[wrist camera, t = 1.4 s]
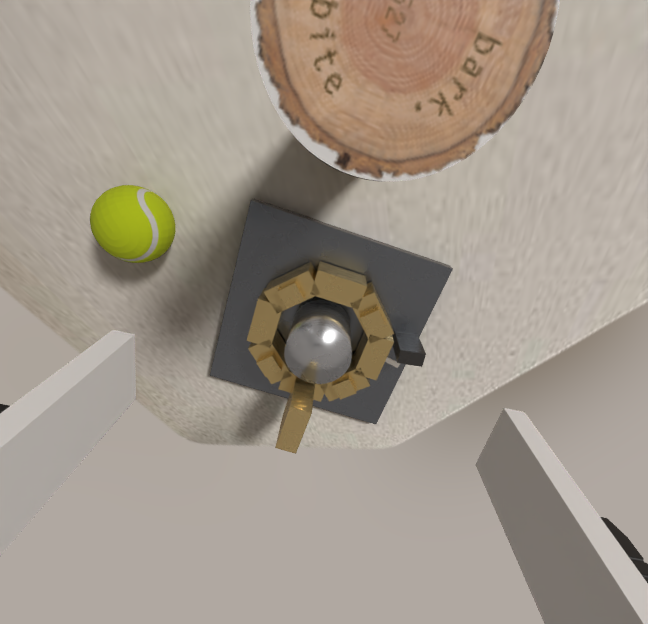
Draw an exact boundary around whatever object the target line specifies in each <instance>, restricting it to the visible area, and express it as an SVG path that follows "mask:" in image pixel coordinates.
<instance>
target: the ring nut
mask: <svg viewBox="0 0 648 624" xmlns="http://www.w3.org/2000/svg"><path fill="white" fill-rule="evenodd" d="M314 296H317V297H320V298H323V299H326V300H330V301H333V302H336V303H339V304H342V305H345V306H348V307H351V308H353V310H354V312H355V314H356V316H357V318H358V320H359V322H360V324H361V326H362V327H363V329H364V333H363V335H362V337H361V340H360V342H359V344H358V347H357V349H356V352H355V354H353V355H352V359H351V363H350V366H349V368H348V370H347V371H346V372H345V373H344V374H343V375H342V376H341V377H340V378H338V379H337V380H335V381H332V382H329V383H325V384H314V383H309V382H306V381H303V380H301V379H300V378H298V377H297V376H295V375H294V374H293V373H292V372H291V371H290V369H289V368H288V366H287V364H286V361H285V355H284V352H285V346H286V344H285V342H284V341H283V339H282V337H281V336H280V334H279V332H278V331H277V328H278V325H279V322H280V318H281V315H282V312H283V311H284V310H286V309H288V308H290V307H293V306H295V305H297V304H299V303H301V302H304V301H306V300H308V299H310V298H312V297H314ZM392 334H394V332H393V328H392V325H391V321H390V319H389V317H388V315H387V313H386V311H385V308H384V306H383V304H382V302H381V300H380V298H379V296H378V294H377V292H376V290H375V287H374V285H373V283H372V282H370V283H368V284H367V283H366V278H365V276H364V275H361V274H358V273H355V272H352V271H349V270H346V269H343V268H339V267H336V266H333V265H330V264H327V263H324V262H321V261H320V263H319V266H318V269H317V272H316V270H315V268H314V266H313V265H312V263H311V262H309V263H307V264H305V265H303V266H301V267H299V268H297V269H295V270H293V271H291V272H288V273H286V274H284V275H282V276H280V277H278V278H276V279H274V280H272V281H270V282H269V284H268V285H267V287H266V288H264V289H263V291H262V293H261V295H260V296H259V298H258V301H257V304H256V308H255V312H254V315H253V319H252V323H251V326H250V330H249V334H248V337H247V341H249V342H251V344H250V346H249V348H248V349H249V351H250V352H251V354H252V355H253V357H254V359H255V360H256V363H257V365H258V366H259V368H260V370H261V371H262V373H263V374H264V376H265V377H267V378H268V380H269V381H270V383H271V384H274V383H276V382H279V381H280V385H279V390H283V391H286V392H289V393H290V396H289V398H288V401H287V404H286V407H285V410H284V413H283V417H282V421H281V425H280V430H279V434H278V438H277V443H276V447H275V448H278V449H281V450H285V451H289V452H292V453H296V452H297V449H298V447H299V444H300V442H301V439H302V437H303V434H304V431H305V429H306V426H307V424H308V421H309V419H310V416H311V414H312V406H313V400H316V401H320V402H321V400H322V398H323V395H324V393H325V395H326V397H327V398H328V400H329V402H330V401H332V400H335V399H337V398H340V399H343V398H346V397H348V396H351V395H353V394H356V393H357V392H356V391H358V390H361V389H363V388H366V387H369V386H370V380H369V378H370V379H373V380H377V378H378V376H379V374H380V371H381V369H382V367H383V365H384V363H385V361H386V358H387V356H388V354H389V352H390V350H391V348H392V346H393V343H394V340H393V336H392Z"/></svg>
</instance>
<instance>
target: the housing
mask: <svg viewBox="0 0 648 624" xmlns="http://www.w3.org/2000/svg"><path fill="white" fill-rule="evenodd" d="M320 261H321V262H324V263H327V264H330V265H333V266H336V267H339V268H343V269H346V270H349V271H352V272H355V273H358V274H361V275H364V276H365V278H366V283H367V284H368V283H370V282H372V283H373V285H374V287H375V290H376V292H377V294H378V296H379V298H380V300H381V302H382V304H383V306H384V308H385V311H386V313H387V315H388V317H389V319H390V321H391V325H392V328H393V332H394V334H392V336H393V340H394V343H393V346H392V348H391V350H390V352H389V354H388V356H387V358H386V361H385V363H384V365H383V367H382V369H381V371H380V374H379V376H378V378H377V380H373V379H370V378H369V380H370V386H369V387H366V388H363V389H361V390H358V391H356V392H357V393H356V394H353V395H351V396H348V397H346V398H343V399H340V398H337V399H335V400H332V401H330V402H329V400H328V398H327V397H326V395H325V393H324V395H323V398H322V400H321V402H320V401H316V400H313V406H315V407H319V408H322V409H325V410H329V411H332V412H336V413H339V414H342V415H346V416H349V417H353V418H356V419H359V420H363V421H366V422H369V423H373V424H376V423H377V421H378V419H379V417H380V415H381V413H382V411H383V409H384V407H385V405H386V403H387V401H388V399H389V397H390V395H391V393H392V391H393V389H394V387H395V385H396V383H397V381H398V379H399V377H400V375H401V373H402V371H403V369H404V367H405V365H406V364H408V365H414V366H421V367H422V365H423V362H424V358H425V355H426V353H425V351H424V349H423V346H422V344H421V342H420V339H419V336H420V334H421V332H422V330H423V328H424V326H425V324H426V322H427V320H428V318H429V316H430V314H431V312H432V310H433V308H434V306H435V304H436V302H437V300H438V298H439V296H440V294H441V292H442V290H443V288H444V286H445V284H446V282H447V280H448V278H449V276H450V273H451V271H452V268H451V267H450V266H449V265H447V264H444V263H441V262H438V261H435V260H432V259H429V258H426V257H423V256H420V255H417V254H414V253H411V252H409V251H406V250H403V249H400V248H397V247H394V246H391V245H388V244H385V243H382V242H379V241H376V240H373V239H370V238H367V237H365V236H362V235H359V234H356V233H353V232H350V231H347V230H344V229H341V228H338V227H335V226H332V225H329V224H326V223H324V222H321V221H318V220H315V219H312V218H309V217H306V216H303V215H300V214H297V213H294V212H291V211H288V210H285V209H283V208H280V207H277V206H274V205H271V204H268V203H265V202H262V201H259V200H256V199H252V200H251V202H250V207H249V211H248V215H247V219H246V224H245V228H244V232H243V236H242V241H241V245H240V249H239V254H238V258H237V262H236V266H235V271H234V275H233V279H232V283H231V288H230V292H229V296H228V300H227V305H226V309H225V313H224V317H223V322H222V326H221V330H220V335H219V339H218V343H217V347H216V352H215V356H214V360H213V364H212V369H211V373H210V376H214V377H217V378H221V379H224V380H227V381H231V382H234V383H237V384H241V385H244V386H248V387H251V388H254V389H258V390H261V391H265V392H268V393H271V394H275V395H278V396H281V397H285V398H289V396H290V393H289V392H286V391H283V390H279V385H280V381H279V382H276V383H274V384H271V383H270V381H269V380H268V378H267V377H265V376H264V374H263V373H262V371H261V370H260V368H259V366H258V365H257V363H256V360H255V359H254V357H253V355H252V354H251V352H250V351H249V349H248V348H249V346H250V344H251V342H249V341H247V337H248V334H249V330H250V326H251V323H252V319H253V315H254V312H255V308H256V304H257V301H258V298H259V296H260V295H261V293H262V291H263V289H264V288H266V287H267V285H268V284H269V282H270V281H272V280H274V279H276V278H278V277H280V276H282V275H284V274H286V273H288V272H291V271H293V270H295V269H297V268H299V267H301V266H303V265H305V264H307V263H309V262H311V263H312V265H313V266H314V268H315V270H316V272H317V269H318V266H319V263H320ZM277 331H278V332H279V334H280V336H281V337H282V339H283V341H284V342H285V344H286V346H285V352H284V355H285V361H286V364H287V366H288V368H289V369H290V371H291V372H292V373H293V374H294V375H295V376H297V377H298V378H300V379H301V380H303V381H306V382H309V383H314V384H325V383H329V382H332V381H335V380H337V379H338V378H340V377H341V376H342V375H343V374H344V373H345V372H346V371H347V370H348V368H349V366H350V363H351V359H352V355H353V354H355V352H356V349H357V347H358V344H359V342H360V340H361V337H362V335H363V333H364V329H363V327H362V326H361V324H360V322H359V320H358V318H357V316H356V314H355V312H354V310H353V308H351V307H348V306H345V305H342V304H339V303H336V302H333V301H330V300H326V299H323V298H320V297H317V296H314V297H312V298H310V299H308V300H306V301H304V302H301V303H299V304H297V305H295V306H293V307H290V308H288V309H286V310H284V311H283V312H282V315H281V318H280V322H279V325H278V328H277Z"/></svg>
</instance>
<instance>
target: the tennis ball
mask: <svg viewBox="0 0 648 624" xmlns="http://www.w3.org/2000/svg"><path fill="white" fill-rule="evenodd" d="M90 225H91V230H92V233H93V235H94V237H95V239H96V240H97V242H98V243H99V245H100V246H101V247H102V248H103V249H104V250H105V251H107V252H108V253H109V254H111V255H112V256H114V257H116V258H118V259H120V260H123V261H126V262H132V263H143V262H148V261H151V260H154V259H156V258H158V257H160V256H161V255H162V254H164V253H165V252H166V251H167V250H168V249H169V247H170V246H171V244H172V242H173V239H174V236H175V220H174V217H173V214H172V212H171V210H170V208H169V207H168V205H167V204H166V202H165V201H164V200H163V199H162V198H160V197H159V196H158V195H156V194H155V193H153V192H151V191H150V190H148V189H145V188H143V187H139V186H134V185H122V186H118V187H114V188H111V189H109V190H107V191H106V192H104V193H103V194H102V195H101V196H100V197H99V198H98V199H97V200H96V202H95V203H94V205H93V207H92V210H91V214H90Z"/></svg>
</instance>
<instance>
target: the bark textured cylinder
mask: <svg viewBox="0 0 648 624" xmlns="http://www.w3.org/2000/svg"><path fill="white" fill-rule="evenodd" d="M559 3H560V0H250V20H251V33H252V40H253V47H254V52H255V57H256V61H257V65H258V69H259V72H260V75H261V78H262V81H263V84H264V86H265V89H266V91H267V93H268V96H269V98H270V100H271V102H272V104H273V106H274V107H275V109H276V111H277V113H278V115H279V116H280V118H281V119H282V121H283V122H284V124H285V125H286V127H287V128H288V129H289V130H290V132H291V133H292V134H293V135H294V136H295V138H296V139H297V140H298V141H299V142H300V143H301V144H302V145H303V146H304V147H305V148H306V149H307V150H308V151H309V152H310V153H312V154H313V155H314V156H316V157H317V158H318V159H319V160H321V161H323V162H324V163H326V164H327V165H329V166H330V167H332V168H334V169H337V170H339V171H341V172H343V173H346V174H348V175H351V176H354V177H358V178H362V179H366V180H373V181H405V180H413V179H417V178H422V177H426V176H429V175H432V174H435V173H438V172H440V171H442V170H445V169H447V168H449V167H452V166H453V165H455V164H457V163H459V162H460V161H462V160H464V159H466V158H467V157H468V156H470V155H471V154H473V153H474V152H476V151H477V150H478V149H480V148H481V147H482V146H483V145H484V144H486V143H487V142H488V141H489V140H490V139H491V138H492V137H493V136H494V135H495V134H496V133H497V132H498V131H499V130H500V129H501V128H502V127H503V126H504V125H505V124H506V122H507V121H508V120H509V119H510V118H511V116H512V115H513V114H514V113H515V111H516V110H517V108H518V107H519V106H520V104H521V103H522V101H523V100H524V98H525V97H526V95H527V93H528V92H529V90H530V88H531V86H532V85H533V83H534V81H535V79H536V77H537V75H538V73H539V71H540V69H541V66H542V64H543V62H544V59H545V56H546V54H547V51H548V49H549V46H550V42H551V39H552V35H553V32H554V29H555V24H556V19H557V15H558V10H559Z"/></svg>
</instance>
